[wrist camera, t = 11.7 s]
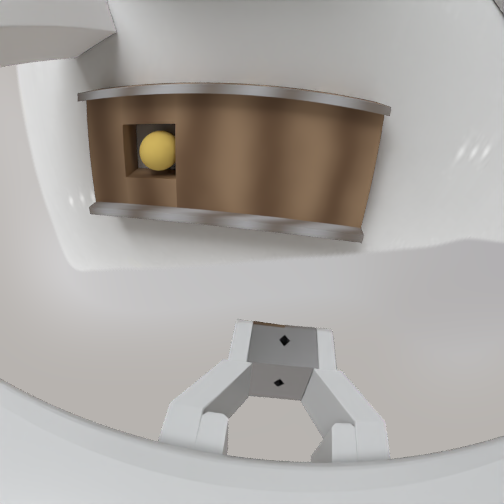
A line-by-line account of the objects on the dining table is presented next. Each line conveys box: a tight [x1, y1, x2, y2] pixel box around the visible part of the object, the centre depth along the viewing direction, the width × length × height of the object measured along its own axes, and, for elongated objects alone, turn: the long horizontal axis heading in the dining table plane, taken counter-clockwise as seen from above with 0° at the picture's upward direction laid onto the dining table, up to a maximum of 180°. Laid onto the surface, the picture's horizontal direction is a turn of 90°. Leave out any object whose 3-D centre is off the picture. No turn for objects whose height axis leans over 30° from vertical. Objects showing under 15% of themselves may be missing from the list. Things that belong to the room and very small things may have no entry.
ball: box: [139, 131, 176, 171], centre depth 28 cm, size 4×4×4 cm
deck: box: [78, 83, 391, 243], centre depth 27 cm, size 28×13×4 cm, turn 86°
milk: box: [0, 0, 116, 67], centre depth 13 cm, size 6×6×22 cm
